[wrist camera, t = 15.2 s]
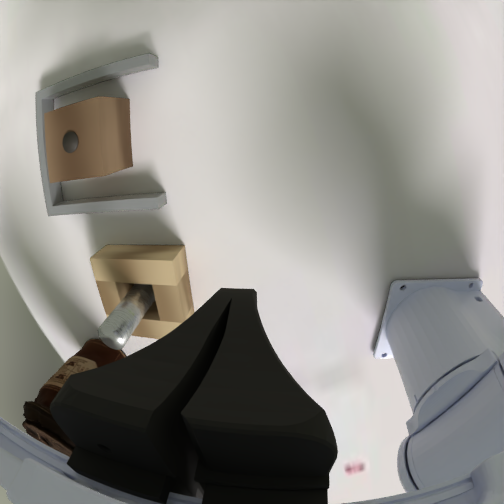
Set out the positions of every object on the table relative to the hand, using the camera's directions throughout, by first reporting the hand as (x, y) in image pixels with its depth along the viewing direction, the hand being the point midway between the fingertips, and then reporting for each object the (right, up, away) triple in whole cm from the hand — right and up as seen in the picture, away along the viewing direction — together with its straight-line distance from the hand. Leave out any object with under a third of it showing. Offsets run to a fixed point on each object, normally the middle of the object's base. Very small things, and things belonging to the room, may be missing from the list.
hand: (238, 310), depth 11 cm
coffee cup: (-15, -9, +17) cm, 25 cm away
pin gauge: (-8, 0, +12) cm, 14 cm away
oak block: (-8, 0, +12) cm, 14 cm away
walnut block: (-10, +11, +8) cm, 17 cm away
